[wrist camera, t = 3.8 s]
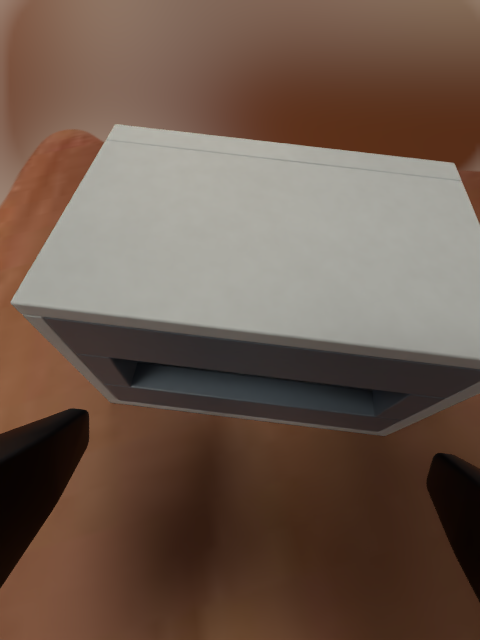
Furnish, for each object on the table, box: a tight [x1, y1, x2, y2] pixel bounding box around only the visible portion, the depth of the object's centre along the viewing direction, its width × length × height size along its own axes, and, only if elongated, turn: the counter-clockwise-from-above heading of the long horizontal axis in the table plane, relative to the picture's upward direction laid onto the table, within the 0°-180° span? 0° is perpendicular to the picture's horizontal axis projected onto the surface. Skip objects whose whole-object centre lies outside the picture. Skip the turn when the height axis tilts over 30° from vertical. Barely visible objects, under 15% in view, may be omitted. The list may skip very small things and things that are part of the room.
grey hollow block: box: [11, 124, 480, 436], centre depth 14 cm, size 9×14×9 cm, turn 84°
